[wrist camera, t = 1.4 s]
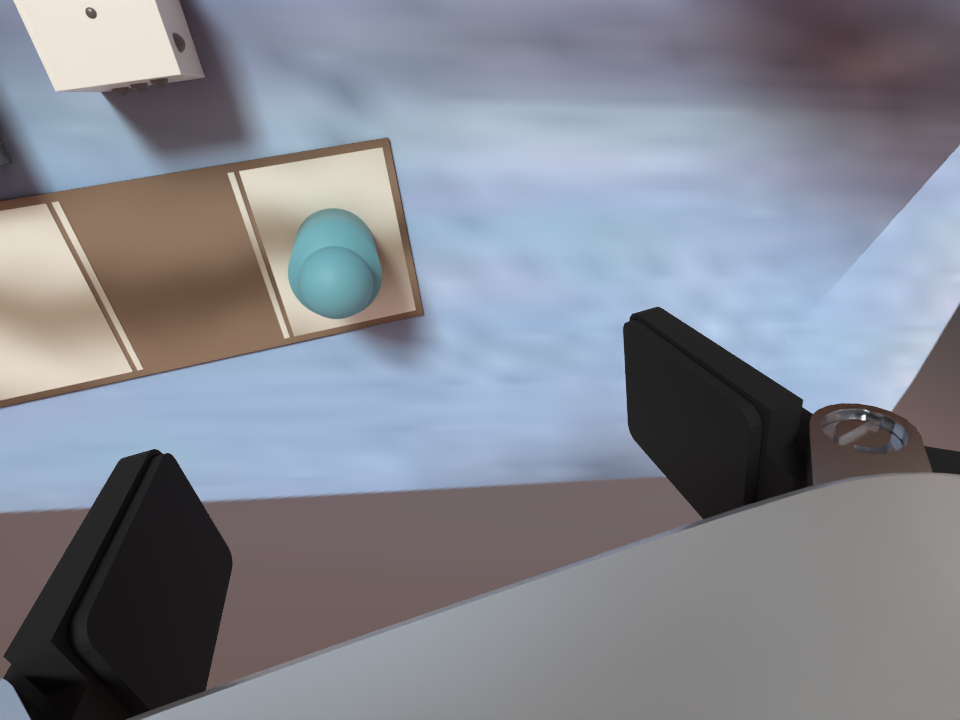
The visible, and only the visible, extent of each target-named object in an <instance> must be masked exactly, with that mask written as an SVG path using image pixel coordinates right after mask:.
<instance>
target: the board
mask: <svg viewBox="0 0 960 720" xmlns="http://www.w3.org/2000/svg"><path fill="white" fill-rule="evenodd" d="M329 208H337V209H343V210H346V211H349V212H351V213H353V214H355V215H357V216H358V217H359V218H361V219H362V220H363V221H364V222H365V224H366V225H367V226H368V228H369V229H370V231H371V233H372V236H373V239H374V243H375V246H376V250H377V254H378V257H379V261H380V265H381V270H382V283H381V287H380V290H379V292H378V295H377V296H376V298H375V299H374V301H373V302H372V303H371V304H370V305H369V306H368V307H367V308H366V309H364V310H363V311H361V312H359V313H358V314H355V315H353V316H351V317H348V318H344V319H330V318H326V317H323V316H321V315H318V314H316V313H314V312H312V311H311V310H309V309H307V308H306V307H305V306H304V305H302V304H301V302H300V301H299V300H298V299H297V298H296V296H295V295H294V293H293V291H292V289H291V287H290V284H289V280H288V265H289V260H290V257H291V253H292V249H293V246H294V242H295V239H296V235H297V232H298V229H299V227H300V226H301V224H302V223H303V221H304V220H305V219H306V218H307V217H309V216H310V215H311V214H313V213H315V212H317V211H319V210H323V209H329ZM419 315H423V309H422V304H421V299H420V294H419V289H418V284H417V279H416V274H415V269H414V264H413V259H412V254H411V249H410V244H409V239H408V234H407V229H406V224H405V219H404V214H403V209H402V204H401V199H400V194H399V189H398V184H397V179H396V174H395V169H394V164H393V159H392V154H391V149H390V144H389V139H388V138H382V139H376V140H370V141H364V142H358V143H352V144H346V145H340V146H333V147H327V148H321V149H315V150H309V151H303V152H297V153H291V154H285V155H279V156H272V157H266V158H260V159H254V160H248V161H242V162H236V163H230V164H224V165H218V166H211V167H205V168H199V169H193V170H187V171H181V172H175V173H169V174H163V175H157V176H151V177H144V178H138V179H132V180H126V181H120V182H114V183H108V184H102V185H96V186H90V187H83V188H77V189H71V190H65V191H59V192H53V193H47V194H41V195H35V196H29V197H22V198H16V199H10V200H4V201H0V407H3V406H8V405H13V404H17V403H22V402H26V401H31V400H35V399H40V398H44V397H49V396H54V395H58V394H63V393H67V392H72V391H76V390H81V389H86V388H90V387H95V386H99V385H104V384H108V383H113V382H117V381H122V380H127V379H131V378H136V377H140V376H145V375H149V374H154V373H159V372H163V371H168V370H172V369H177V368H181V367H186V366H191V365H195V364H200V363H204V362H209V361H213V360H218V359H222V358H227V357H232V356H236V355H241V354H245V353H250V352H254V351H259V350H264V349H268V348H273V347H277V346H282V345H286V344H291V343H296V342H300V341H305V340H309V339H314V338H318V337H323V336H327V335H332V334H337V333H341V332H346V331H350V330H355V329H359V328H364V327H369V326H373V325H378V324H382V323H387V322H391V321H396V320H401V319H405V318H410V317H414V316H419Z"/></svg>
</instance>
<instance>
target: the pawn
mask: <svg viewBox="0 0 960 720" xmlns="http://www.w3.org/2000/svg"><path fill="white" fill-rule="evenodd" d="M288 280H289V284H290V287H291V289H292V291H293V293H294V295H295V296H296V298H297V299H298V300H299V301H300V302H301V304H302V305H304V306H305V307H306V308H307V309H309V310H311V311H312V312H314V313H316V314H318V315H321V316H323V317H326V318H330V319H344V318H348V317H351V316H353V315H355V314H358V313H359V312H361V311H363V310H364V309H366V308H367V307H368V306H369V305H370V304H371V303H372V302H373V301H374V299H375V298H376V296H377V295H378V292H379V290H380V287H381V283H382V270H381V265H380V261H379V257H378V254H377V250H376V246H375V243H374V239H373V236H372V233H371V231H370V229H369V228H368V226H367V225H366V224H365V222H364V221H363V220H362V219H361V218H359V217H358V216H357V215H355V214H353V213H351V212H349V211H346V210H343V209H337V208H329V209H323V210H319V211H317V212H315V213H313V214H311V215H310V216H309V217H307V218H306V219H305V220H304V221H303V223H302V224H301V226H300V227H299V229H298V232H297V235H296V239H295V242H294V246H293V249H292V253H291V257H290V260H289V265H288Z"/></svg>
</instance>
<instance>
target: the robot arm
mask: <svg viewBox="0 0 960 720" xmlns="http://www.w3.org/2000/svg"><path fill="white" fill-rule="evenodd" d="M623 335H624V355H625V374H626V394H627V413H628V427H629V430H630V433H631V435H632V437H633V439H634V440H635V441H636V443H637V444H638V445H639V446H640V447H641V448H642V449H643V451H644V452H645V453H646V454H647V455H648V456H649V457H650V459H651V460H652V461H653V462H654V463H655V464H656V465H657V467H658V468H659V469H660V470H661V471H662V472H663V473H664V475H665V476H666V477H667V478H668V479H669V480H670V482H671V483H672V484H673V485H674V486H675V487H676V488H677V490H678V491H679V492H680V493H681V494H682V495H683V496H684V498H685V499H686V500H687V501H688V502H689V503H690V504H691V506H692V507H693V508H694V509H695V510H696V511H697V512H698V513H699V515H700V516H701V517H702V518H703V520H700V521H697V522H694V523H690V524H688V525H684V526H681V527H678V528H675V529H672V530H669V531H667V532H664V533H661V534H658V535H655V536H652V537H649V538H646V539H643V540H640V541H637V542H634V543H631V544H628V545H625V546H622V547H619V548H616V549H613V550H610V551H608V552H605V553H602V554H598V555H596V556H593V557H590V558H587V559H584V560H581V561H578V562H575V563H572V564H569V565H566V566H563V567H560V568H557V569H554V570H551V571H548V572H545V573H543V574H540V575H537V576H534V577H531V578H528V579H525V580H522V581H519V582H516V583H514V584H510V585H508V586H505V587H502V588H499V589H496V590H493V591H490V592H487V593H485V594H482V595H478V596H476V597H473V598H470V599H467V600H464V601H461V602H458V603H455V604H452V605H449V606H446V607H444V608H441V609H438V610H435V611H432V612H429V613H426V614H423V615H420V616H418V617H415V618H412V619H409V620H406V621H404V622H400V623H397V624H395V625H392V626H389V627H386V628H383V629H380V630H377V631H374V632H371V633H368V634H366V635H363V636H360V637H357V638H354V639H351V640H349V641H346V642H343V643H340V644H337V645H334V646H331V647H329V648H326V649H323V650H320V651H317V652H314V653H311V654H309V655H306V656H303V657H300V658H297V659H295V660H291V661H289V662H286V663H283V664H280V665H277V666H274V667H272V668H269V669H266V670H263V671H260V672H257V673H254V674H252V675H249V676H246V677H243V678H240V679H237V680H235V681H232V682H229V683H226V684H223V685H220V686H217V687H215V688H212V689H209V690H206V686H207V681H208V677H209V672H210V667H211V663H212V657H213V653H214V649H215V644H216V640H217V635H218V631H219V626H220V621H221V616H222V612H223V607H224V603H225V598H226V594H227V589H228V584H229V580H230V575H231V571H232V556H231V552H230V550H229V548H228V546H227V544H226V543H225V541H224V540H223V538H222V536H221V534H220V533H219V531H218V529H217V528H216V526H215V525H214V523H213V521H212V519H211V518H210V517H209V514H208V513H207V511H206V510H205V508H204V506H203V504H202V503H201V501H200V499H199V498H198V496H197V494H196V493H195V491H194V489H193V488H192V486H191V484H190V483H189V481H188V479H187V478H186V476H185V474H184V473H183V471H182V469H181V468H180V466H179V464H178V463H177V461H176V459H175V458H174V457H173V456H172V455H171V454H169V453H166V454H162V453H161V452H160V451H159V450H156V449H153V450H149V451H146V452H142V453H139V454H135V455H132V456H128V457H125V458H122V459H121V460H120V461H119V462H118V463H117V465H116V467H115V468H114V470H113V472H112V473H111V475H110V477H109V478H108V480H107V482H106V484H105V485H104V487H103V489H102V490H101V492H100V494H99V495H98V497H97V499H96V500H95V502H94V504H93V506H92V507H91V509H90V511H89V512H88V514H87V516H86V518H85V519H84V521H83V523H82V524H81V526H80V528H79V529H78V531H77V533H76V534H75V536H74V538H73V539H72V541H71V543H70V544H69V546H68V548H67V550H66V551H65V553H64V555H63V557H62V558H61V560H60V561H59V563H58V565H57V566H56V568H55V570H54V572H53V573H52V575H51V577H50V578H49V580H48V582H47V584H46V585H45V587H44V588H43V590H42V592H41V594H40V595H39V597H38V599H37V600H36V602H35V604H34V605H33V607H32V609H31V611H30V612H29V614H28V615H27V617H26V619H25V621H24V622H23V624H22V626H21V628H20V629H19V631H18V633H17V634H16V636H15V638H14V639H13V641H12V643H11V644H10V646H9V648H8V649H7V651H6V653H5V654H4V658H6V659H7V660H8V661H9V662H10V663H11V666H10V667H9V669H8V671H7V673H6V675H5V676H4V678H3V679H0V720H960V452H958V451H951V450H945V449H938V448H932V447H926V446H924V444H923V441H922V438H921V435H920V434H919V432H918V431H917V429H916V427H914V426H913V425H912V424H911V423H909V422H908V421H907V420H906V419H904V418H902V417H900V416H898V415H896V414H894V413H892V412H890V411H887V410H884V409H881V408H878V407H874V406H868V405H862V404H844V403H842V404H835V405H829V406H826V407H824V408H821V409H819V410H817V411H816V412H815V413H814V414H812V413H810V412H809V411H807V410H806V409H804V408H803V407H802V404H803V399H801V398H800V397H798V396H796V395H795V394H793V393H792V392H790V391H789V390H787V389H786V388H784V387H783V386H781V385H779V384H778V383H776V382H775V381H773V380H772V379H770V378H769V377H767V376H766V375H764V374H762V373H761V372H759V371H758V370H756V369H755V368H753V367H752V366H750V365H749V364H747V363H745V362H744V361H742V360H741V359H739V358H738V357H736V356H735V355H733V354H732V353H730V352H728V351H727V350H725V349H724V348H722V347H721V346H719V345H718V344H716V343H715V342H713V341H712V340H710V339H708V338H707V337H705V336H704V335H702V334H701V333H699V332H698V331H696V330H695V329H693V328H691V327H690V326H688V325H687V324H685V323H684V322H682V321H681V320H679V319H678V318H676V317H674V316H673V315H671V314H670V313H668V312H667V311H665V310H664V309H662V308H660V307H655V308H652V309H648V310H644V311H641V312H637V313H634V314H632V315H631V317H630V320H629V322H626V323H625V324H624V327H623ZM205 690H206V691H205Z"/></svg>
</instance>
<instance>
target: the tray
mask: <svg viewBox="0 0 960 720" xmlns="http://www.w3.org/2000/svg"><path fill="white" fill-rule="evenodd" d="M8 163H12V161H11V160H10V158H9V156H8V154H7V152H6V150H5V148H4V146H3V144H2V143H1V141H0V165H3V164H8Z"/></svg>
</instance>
